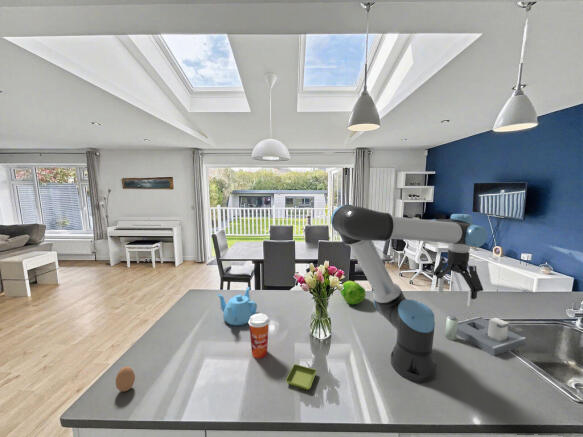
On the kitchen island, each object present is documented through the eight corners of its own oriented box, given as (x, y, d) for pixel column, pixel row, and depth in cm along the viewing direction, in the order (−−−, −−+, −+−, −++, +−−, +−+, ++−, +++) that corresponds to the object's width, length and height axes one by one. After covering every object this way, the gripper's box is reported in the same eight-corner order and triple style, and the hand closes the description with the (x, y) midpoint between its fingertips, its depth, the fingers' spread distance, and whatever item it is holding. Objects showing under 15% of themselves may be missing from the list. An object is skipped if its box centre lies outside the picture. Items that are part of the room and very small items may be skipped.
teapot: (216, 316, 124) (215, 293, 123) (249, 306, 135) (249, 285, 133) (227, 332, 110) (226, 307, 109) (263, 320, 120) (263, 296, 119)
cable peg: (451, 341, 104) (453, 320, 102) (443, 336, 107) (444, 316, 106) (458, 339, 105) (460, 319, 104) (449, 334, 109) (451, 314, 107)
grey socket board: (493, 355, 95) (494, 347, 94) (450, 330, 111) (450, 323, 111) (525, 345, 101) (526, 337, 101) (479, 322, 118) (480, 316, 118)
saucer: (294, 368, 88) (294, 363, 88) (317, 375, 85) (317, 369, 85) (285, 386, 80) (285, 380, 80) (310, 394, 77) (310, 388, 77)
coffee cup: (250, 362, 91) (249, 325, 89) (248, 348, 99) (247, 314, 97) (271, 358, 93) (271, 322, 91) (268, 345, 101) (267, 311, 99)
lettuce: (359, 293, 152) (359, 274, 150) (367, 308, 132) (368, 288, 131) (337, 292, 153) (337, 274, 151) (342, 308, 133) (342, 287, 131)
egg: (137, 389, 79) (136, 367, 78) (119, 399, 75) (116, 376, 74) (133, 380, 82) (131, 359, 81) (114, 390, 78) (112, 368, 77)
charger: (498, 347, 99) (501, 325, 98) (486, 341, 104) (489, 319, 103) (506, 345, 101) (508, 323, 100) (493, 339, 105) (496, 317, 104)
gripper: (498, 257, 91) (492, 310, 93) (438, 243, 114) (435, 286, 117) (484, 259, 88) (479, 313, 91) (426, 244, 112) (423, 288, 114)
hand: (454, 298), depth 104 cm, fingers open, 13 cm apart
